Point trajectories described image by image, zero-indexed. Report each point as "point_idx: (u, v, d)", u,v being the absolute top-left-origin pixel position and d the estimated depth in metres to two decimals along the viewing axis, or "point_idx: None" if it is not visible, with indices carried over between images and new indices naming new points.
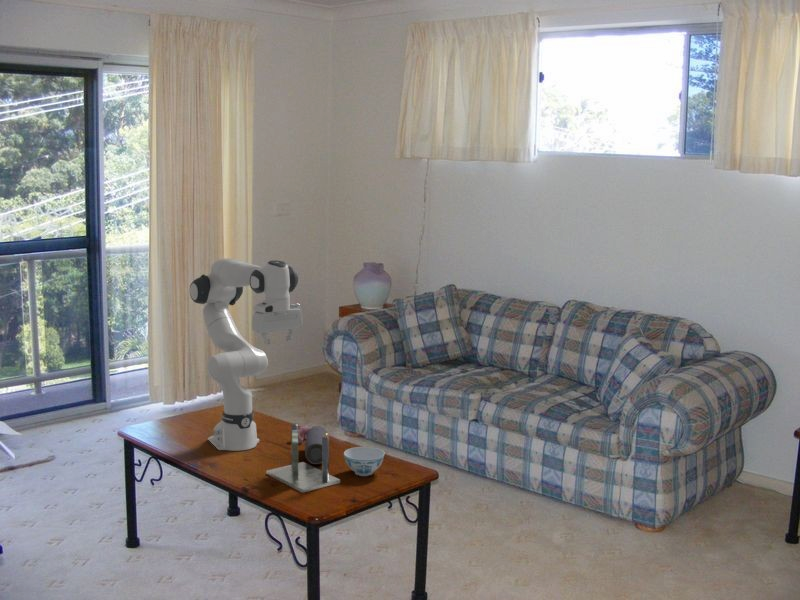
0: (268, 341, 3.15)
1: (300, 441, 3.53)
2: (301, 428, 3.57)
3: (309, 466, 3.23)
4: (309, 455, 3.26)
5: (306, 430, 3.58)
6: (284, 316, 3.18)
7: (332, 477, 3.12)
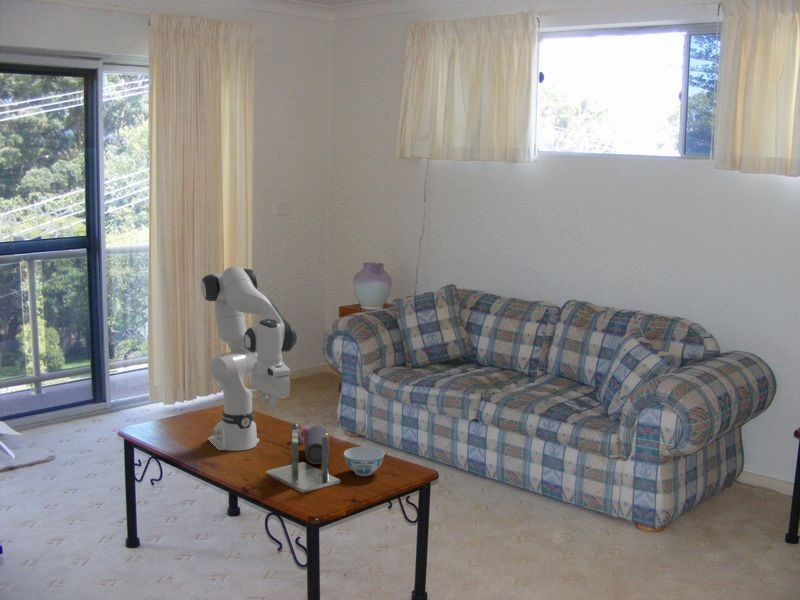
0: None
1: (301, 441, 3.53)
2: (302, 428, 3.56)
3: (309, 466, 3.23)
4: (309, 455, 3.26)
5: (307, 430, 3.58)
6: None
7: (332, 477, 3.12)
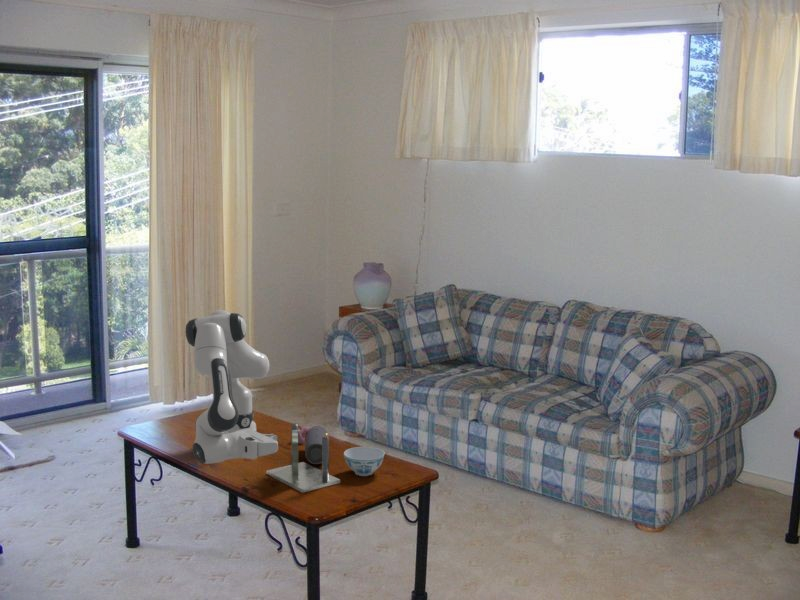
0: (273, 435, 3.02)
1: (302, 441, 3.52)
2: (303, 428, 3.56)
3: (309, 466, 3.23)
4: (309, 455, 3.26)
5: (308, 430, 3.58)
6: None
7: (332, 477, 3.12)
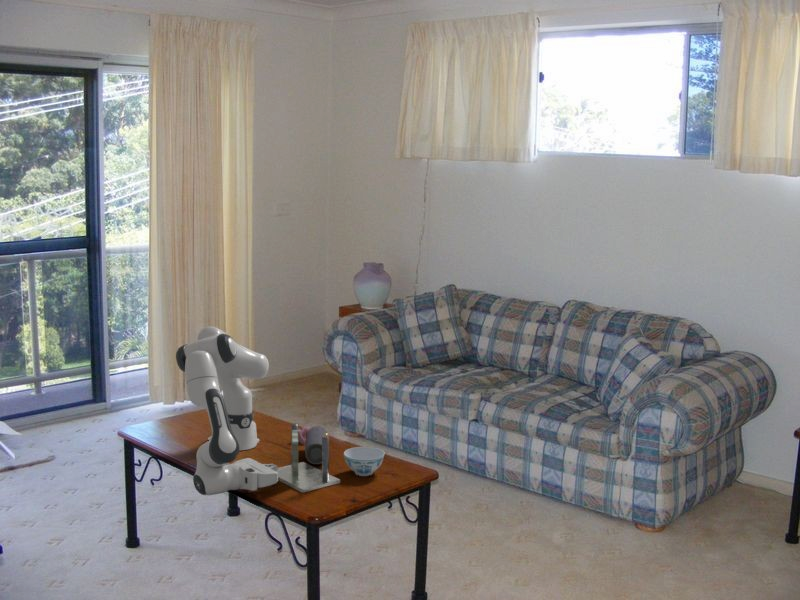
0: (273, 465, 3.03)
1: (302, 442, 3.52)
2: (303, 429, 3.56)
3: (309, 466, 3.23)
4: (309, 455, 3.26)
5: (308, 431, 3.57)
6: None
7: (332, 477, 3.12)
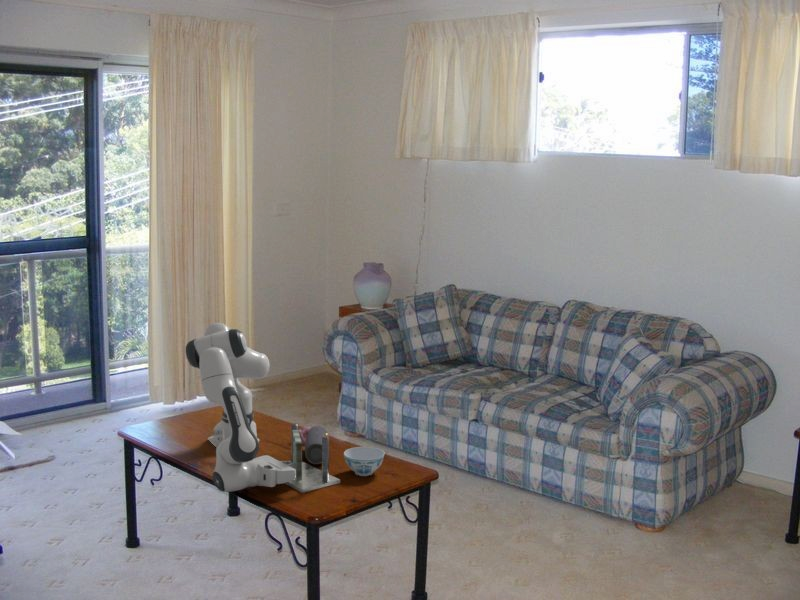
0: (291, 462, 3.07)
1: (303, 442, 3.52)
2: (304, 429, 3.56)
3: (309, 466, 3.23)
4: (309, 455, 3.26)
5: None
6: None
7: (332, 477, 3.12)
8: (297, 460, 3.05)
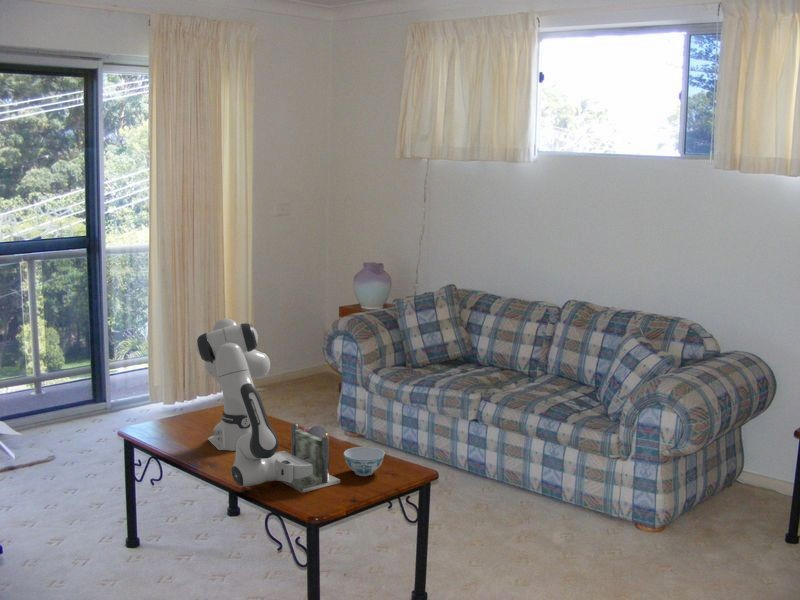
0: (308, 458, 3.12)
1: None
2: (305, 429, 3.55)
3: None
4: None
5: None
6: None
7: (332, 477, 3.12)
8: (320, 457, 3.08)
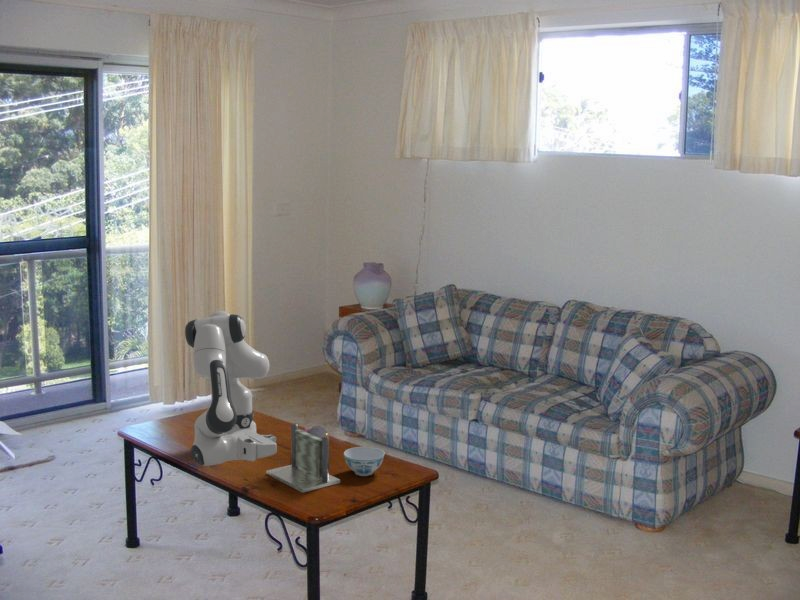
0: (272, 436, 3.02)
1: None
2: (306, 429, 3.55)
3: None
4: None
5: None
6: None
7: (332, 477, 3.12)
8: (320, 457, 3.08)
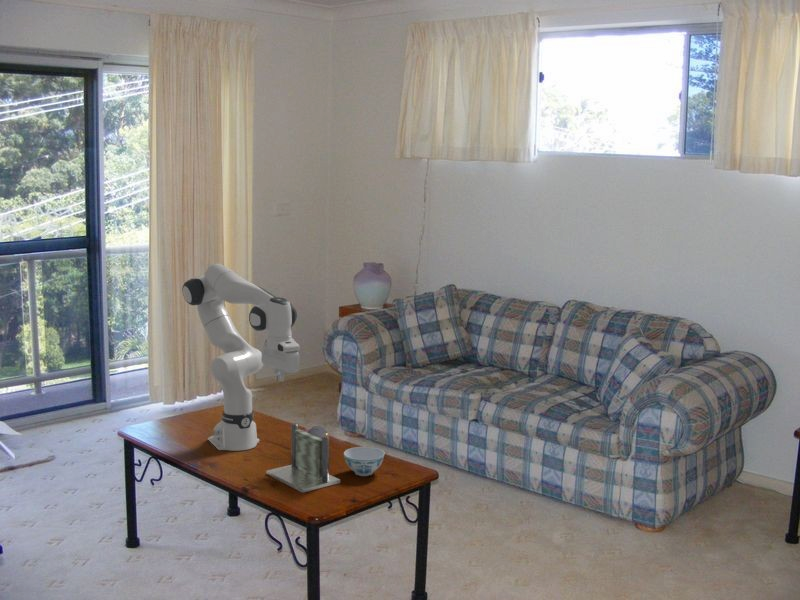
0: None
1: None
2: (307, 430, 3.55)
3: None
4: None
5: None
6: None
7: (332, 477, 3.12)
8: (320, 457, 3.08)
